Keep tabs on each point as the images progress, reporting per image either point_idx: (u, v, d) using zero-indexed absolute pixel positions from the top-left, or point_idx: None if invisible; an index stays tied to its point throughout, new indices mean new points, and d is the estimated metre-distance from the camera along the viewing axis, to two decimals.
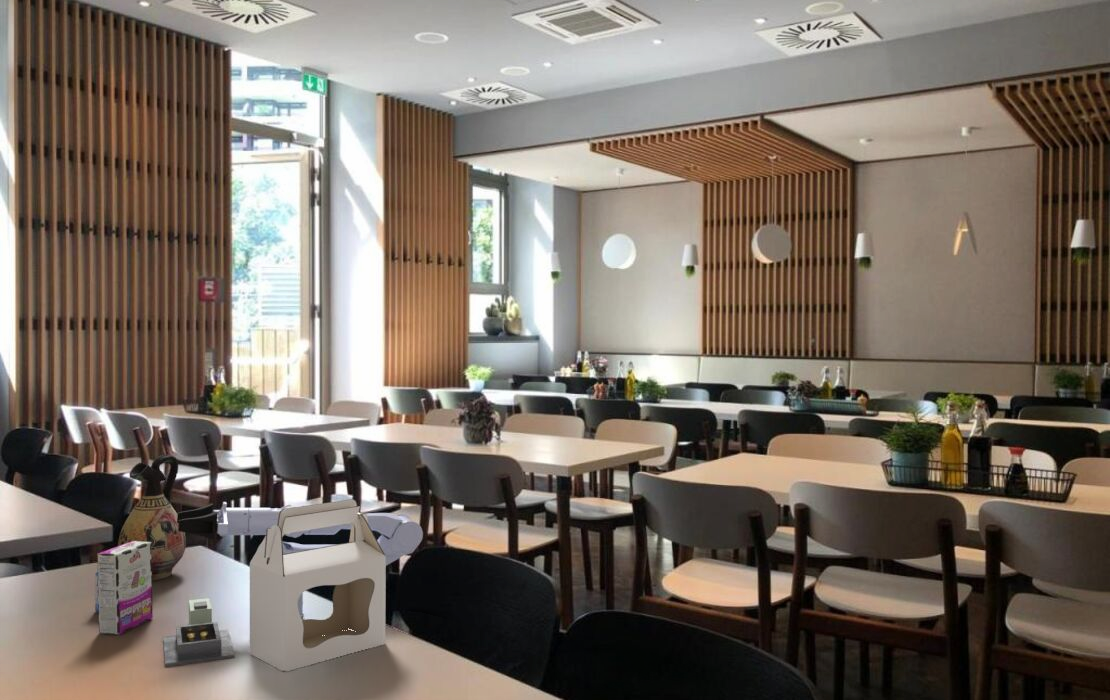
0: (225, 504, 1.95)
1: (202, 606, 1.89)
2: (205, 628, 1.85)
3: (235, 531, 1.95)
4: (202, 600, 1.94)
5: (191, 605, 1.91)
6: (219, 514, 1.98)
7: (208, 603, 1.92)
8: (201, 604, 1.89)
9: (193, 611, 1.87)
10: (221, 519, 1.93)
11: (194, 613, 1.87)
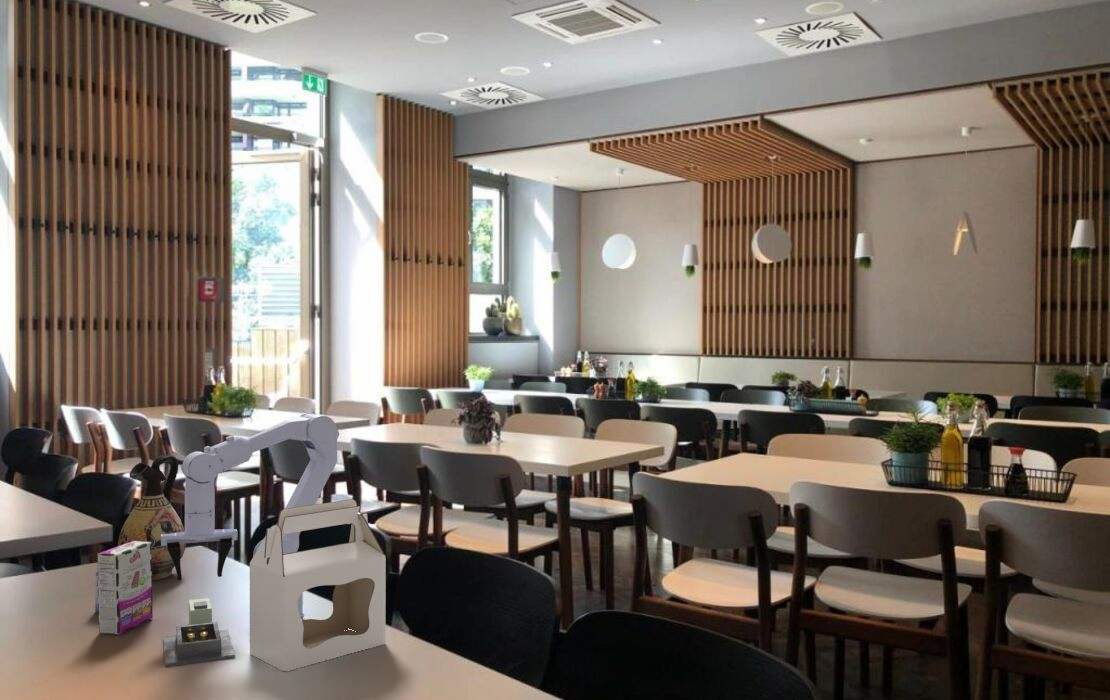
0: (205, 537, 1.88)
1: (202, 606, 1.89)
2: (205, 628, 1.85)
3: None
4: (202, 600, 1.94)
5: (191, 605, 1.91)
6: (188, 539, 1.89)
7: (208, 603, 1.92)
8: (201, 604, 1.89)
9: (193, 611, 1.88)
10: (215, 537, 1.91)
11: (194, 613, 1.88)
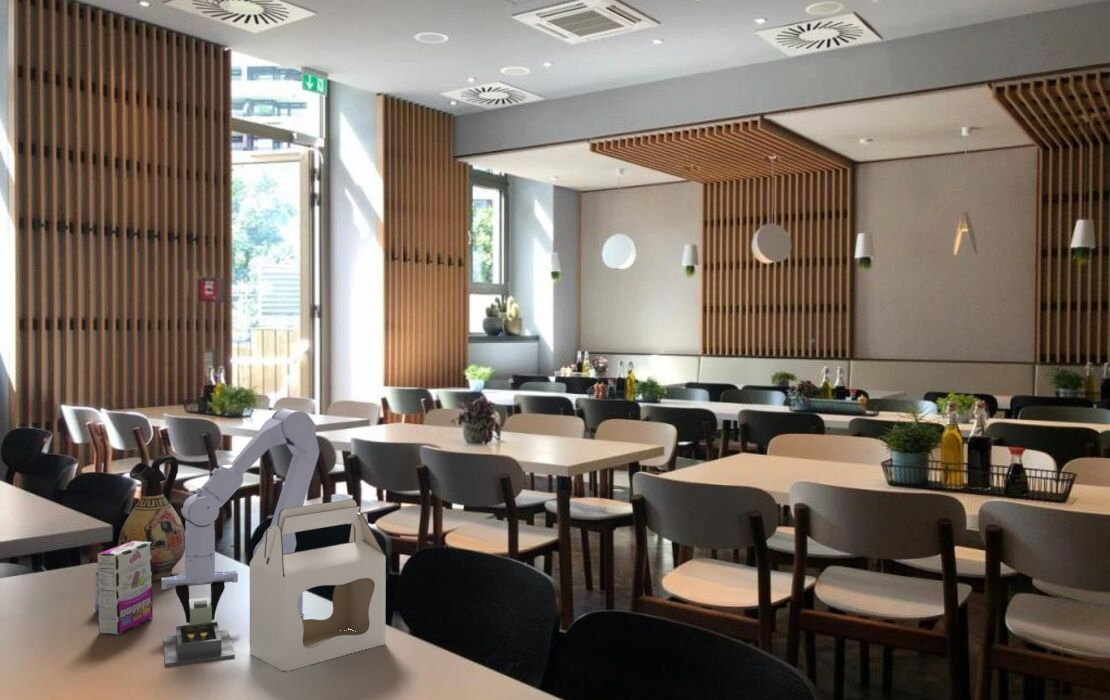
0: (206, 580, 1.88)
1: (202, 605, 1.89)
2: (205, 628, 1.85)
3: None
4: (202, 599, 1.94)
5: (191, 604, 1.91)
6: (188, 582, 1.90)
7: (208, 602, 1.92)
8: (201, 603, 1.89)
9: (193, 610, 1.88)
10: (215, 580, 1.92)
11: (194, 612, 1.88)
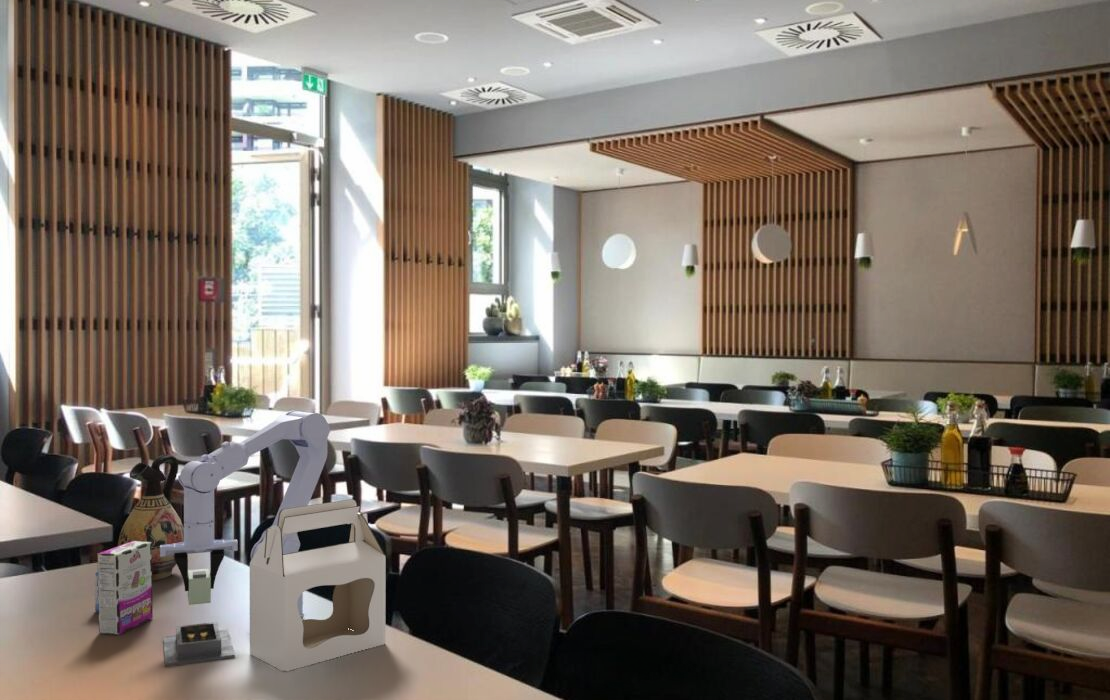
0: (205, 548, 1.85)
1: (201, 575, 1.86)
2: (205, 628, 1.85)
3: None
4: (201, 570, 1.91)
5: (190, 574, 1.88)
6: None
7: (207, 573, 1.89)
8: (199, 573, 1.86)
9: (192, 580, 1.84)
10: (214, 548, 1.88)
11: (193, 582, 1.84)
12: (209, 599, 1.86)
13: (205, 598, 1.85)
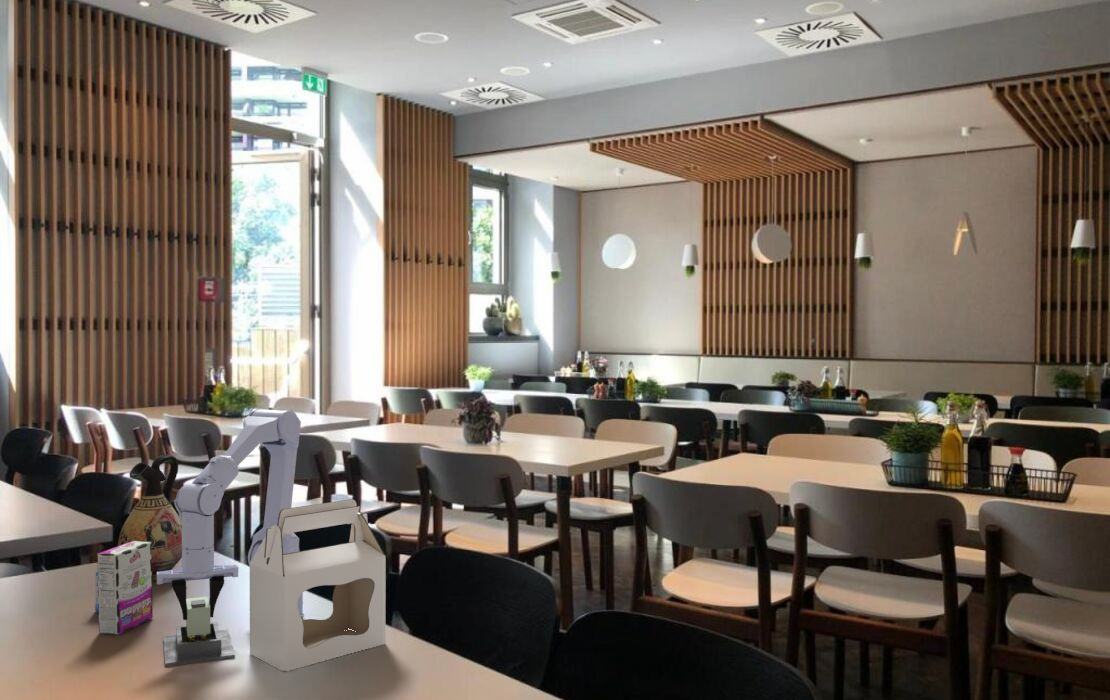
0: (204, 575, 1.76)
1: (200, 604, 1.77)
2: None
3: None
4: (200, 598, 1.83)
5: (188, 604, 1.79)
6: None
7: (206, 601, 1.80)
8: (198, 603, 1.78)
9: (190, 610, 1.76)
10: None
11: (191, 612, 1.76)
12: (208, 629, 1.77)
13: (205, 628, 1.77)
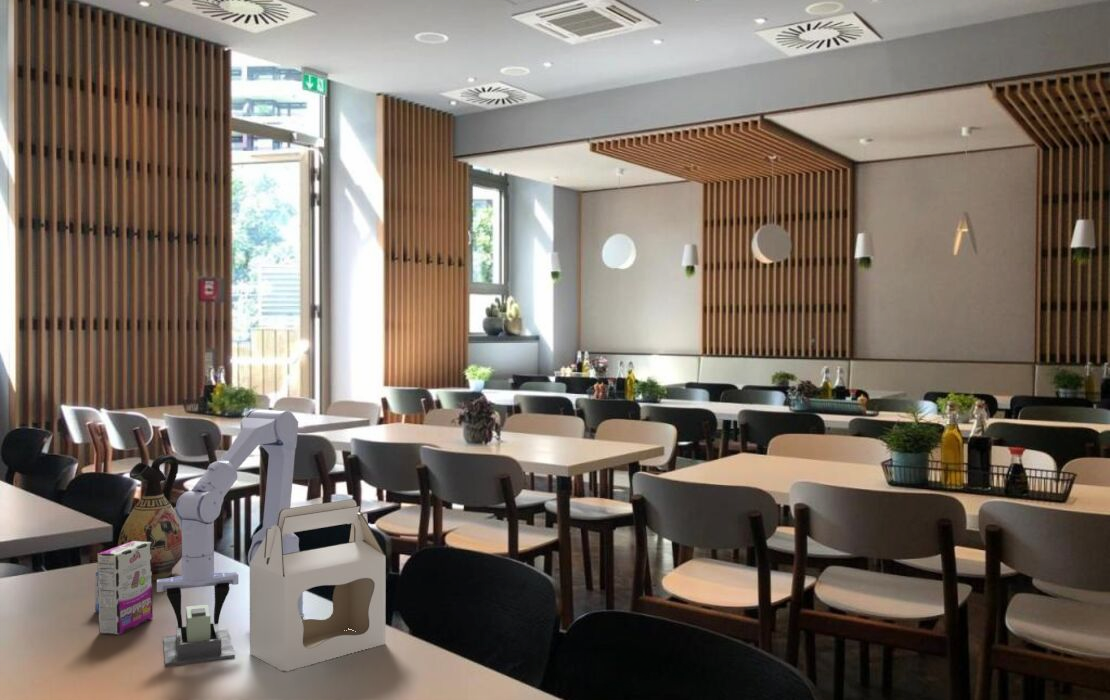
0: (204, 582, 1.76)
1: (201, 613, 1.77)
2: None
3: None
4: (200, 607, 1.83)
5: (188, 612, 1.79)
6: (185, 584, 1.77)
7: (207, 610, 1.80)
8: (199, 611, 1.78)
9: (191, 619, 1.76)
10: (214, 581, 1.79)
11: (192, 621, 1.76)
12: (208, 638, 1.77)
13: (205, 637, 1.77)
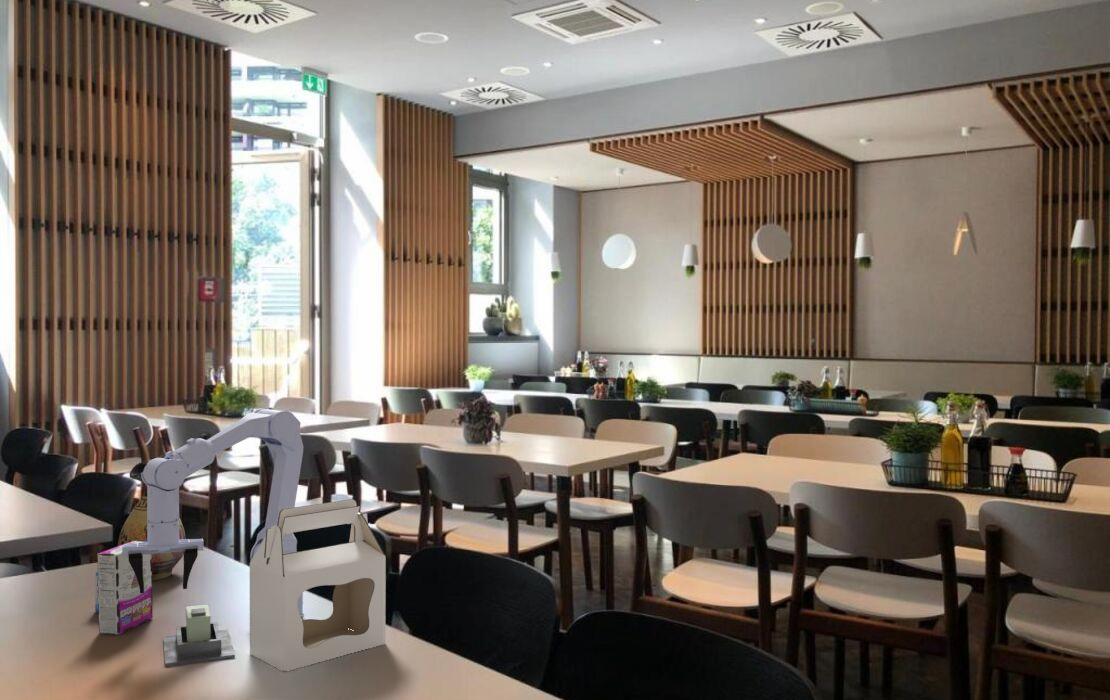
0: (169, 547, 1.79)
1: (201, 613, 1.77)
2: None
3: None
4: (200, 607, 1.83)
5: (188, 612, 1.79)
6: None
7: (207, 610, 1.80)
8: (199, 611, 1.78)
9: (191, 619, 1.76)
10: (179, 547, 1.82)
11: (192, 621, 1.76)
12: (208, 638, 1.77)
13: (205, 637, 1.77)
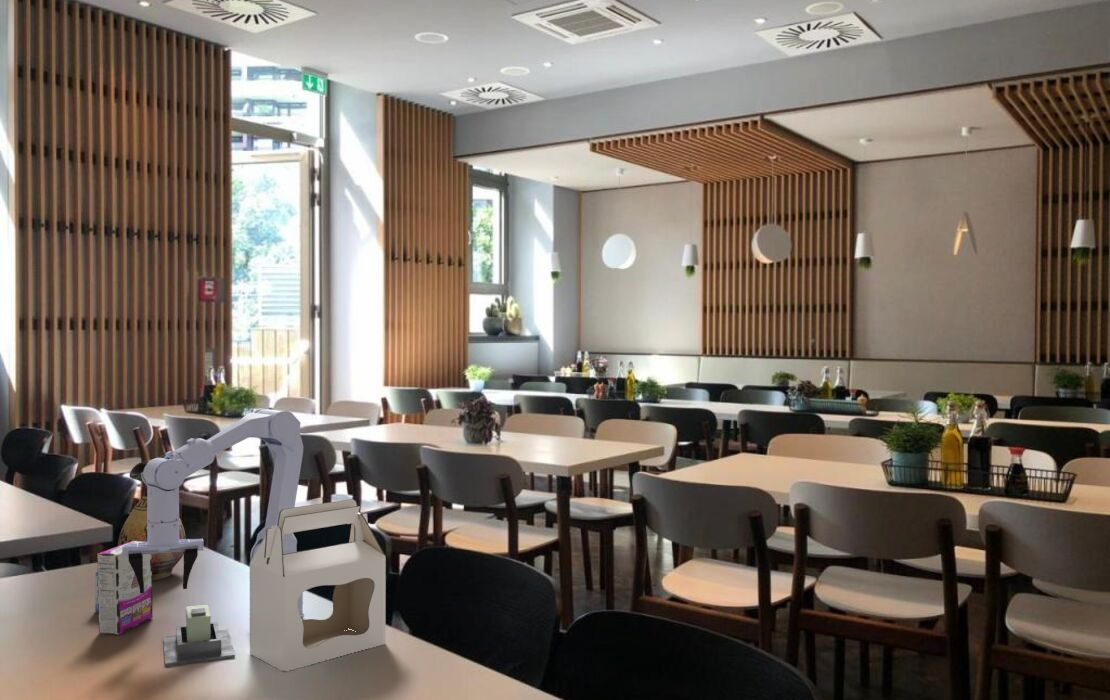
0: (169, 547, 1.79)
1: (201, 613, 1.77)
2: None
3: None
4: (200, 607, 1.83)
5: (188, 612, 1.79)
6: None
7: (207, 610, 1.80)
8: (199, 611, 1.78)
9: (191, 619, 1.76)
10: (179, 547, 1.82)
11: (192, 621, 1.76)
12: (208, 638, 1.77)
13: (205, 637, 1.77)
